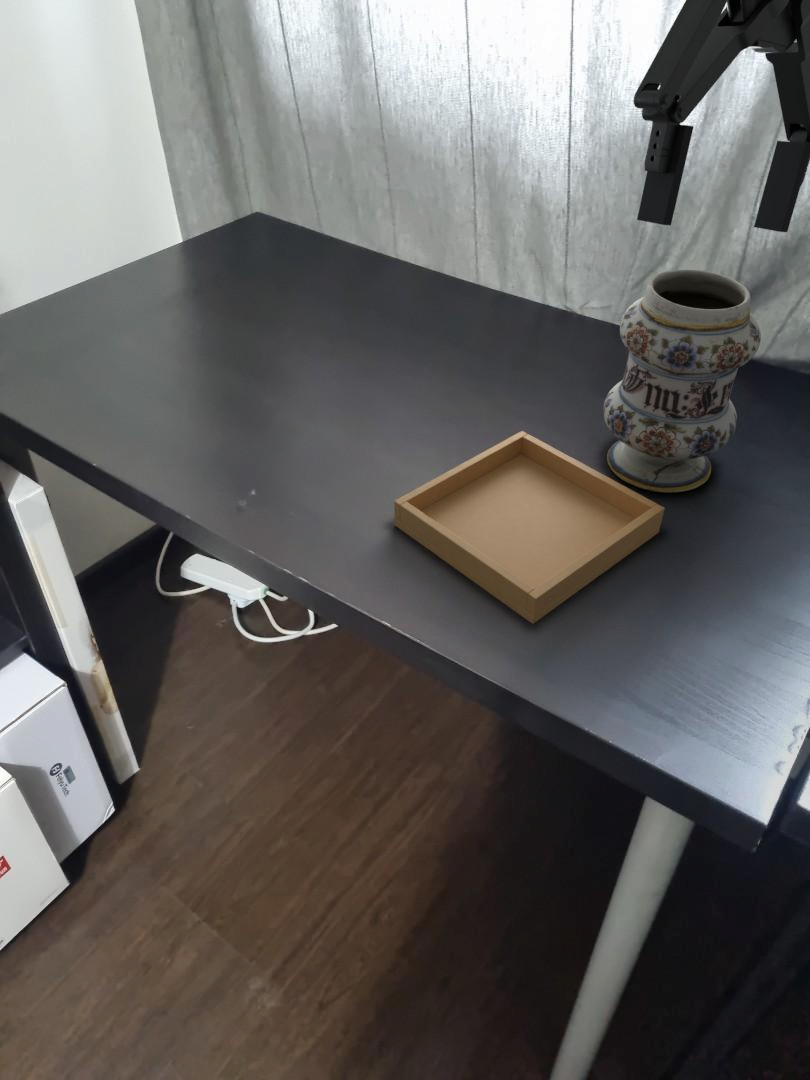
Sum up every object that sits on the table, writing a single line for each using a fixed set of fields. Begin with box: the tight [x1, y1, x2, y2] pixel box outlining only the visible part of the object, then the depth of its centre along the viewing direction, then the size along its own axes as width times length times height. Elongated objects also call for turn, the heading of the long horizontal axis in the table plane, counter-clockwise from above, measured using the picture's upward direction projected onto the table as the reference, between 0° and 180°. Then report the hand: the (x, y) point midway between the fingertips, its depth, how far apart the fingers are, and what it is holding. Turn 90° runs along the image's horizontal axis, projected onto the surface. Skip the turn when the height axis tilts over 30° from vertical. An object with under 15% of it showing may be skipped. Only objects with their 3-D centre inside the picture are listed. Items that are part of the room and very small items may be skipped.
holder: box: [393, 430, 665, 625], centre depth 73 cm, size 17×17×3 cm
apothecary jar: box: [602, 268, 762, 494], centre depth 75 cm, size 12×12×18 cm
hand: (714, 227), depth 65 cm, fingers open, 13 cm apart
